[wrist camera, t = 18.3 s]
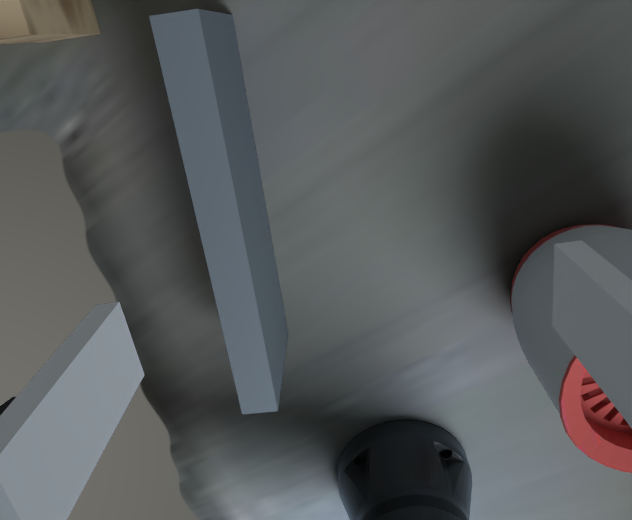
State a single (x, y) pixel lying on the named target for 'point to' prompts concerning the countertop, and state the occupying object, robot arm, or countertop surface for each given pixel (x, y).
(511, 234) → the countertop surface
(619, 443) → the citrus juicer
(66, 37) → the oak block
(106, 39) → the countertop surface
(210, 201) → the panel
